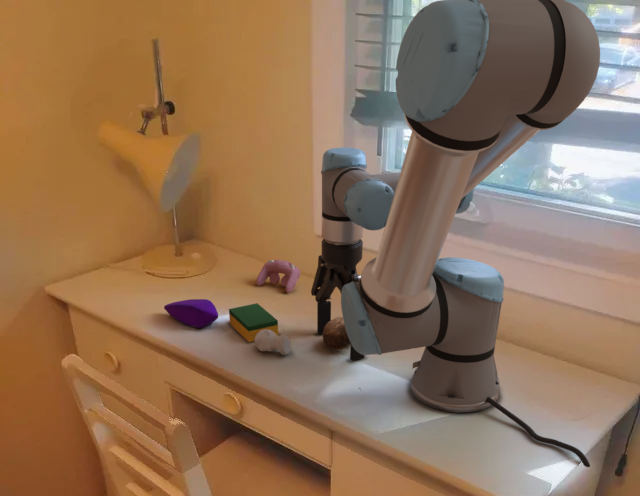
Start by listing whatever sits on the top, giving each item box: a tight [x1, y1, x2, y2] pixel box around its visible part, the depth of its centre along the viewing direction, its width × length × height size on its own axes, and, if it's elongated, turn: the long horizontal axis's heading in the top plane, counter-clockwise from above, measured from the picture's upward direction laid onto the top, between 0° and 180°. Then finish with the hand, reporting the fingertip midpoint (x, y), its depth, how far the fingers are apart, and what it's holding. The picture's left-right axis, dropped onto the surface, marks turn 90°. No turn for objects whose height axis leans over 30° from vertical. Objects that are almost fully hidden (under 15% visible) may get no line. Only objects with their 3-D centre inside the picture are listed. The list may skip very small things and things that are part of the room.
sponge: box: [228, 302, 279, 343], centre depth 146 cm, size 10×6×3 cm, turn 29°
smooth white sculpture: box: [254, 329, 292, 356], centre depth 138 cm, size 4×8×5 cm
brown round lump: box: [322, 316, 351, 352], centre depth 140 cm, size 8×8×6 cm
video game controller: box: [255, 259, 301, 294], centre depth 166 cm, size 10×5×7 cm, turn 58°
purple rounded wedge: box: [163, 298, 219, 329], centre depth 149 cm, size 5×5×15 cm
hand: (340, 345), depth 141 cm, fingers open, 12 cm apart
